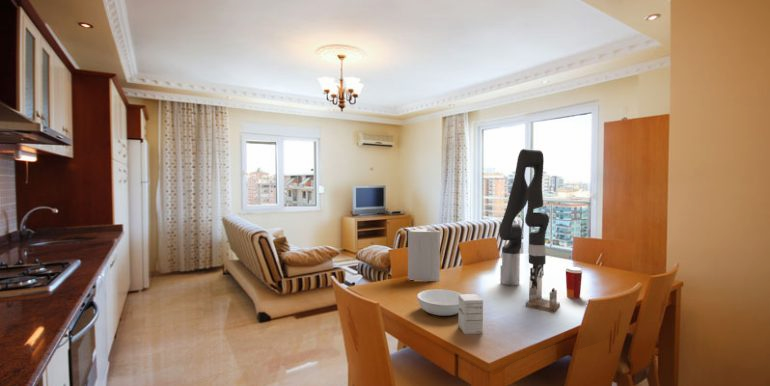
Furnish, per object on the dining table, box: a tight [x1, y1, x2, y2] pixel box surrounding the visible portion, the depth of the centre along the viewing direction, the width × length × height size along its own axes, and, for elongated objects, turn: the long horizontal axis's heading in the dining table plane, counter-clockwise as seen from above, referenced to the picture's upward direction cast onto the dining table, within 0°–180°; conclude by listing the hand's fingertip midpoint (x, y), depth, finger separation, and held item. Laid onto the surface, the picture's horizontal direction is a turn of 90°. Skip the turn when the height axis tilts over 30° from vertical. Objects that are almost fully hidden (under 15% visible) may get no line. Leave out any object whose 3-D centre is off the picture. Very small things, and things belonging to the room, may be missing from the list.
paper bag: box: [407, 227, 441, 282], centre depth 210 cm, size 19×15×28 cm
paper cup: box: [564, 266, 584, 300], centre depth 177 cm, size 8×8×14 cm
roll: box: [528, 276, 543, 299], centre depth 176 cm, size 6×6×10 cm
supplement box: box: [457, 293, 484, 335], centre depth 137 cm, size 7×7×13 cm
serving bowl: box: [417, 288, 463, 317], centre depth 156 cm, size 21×21×7 cm
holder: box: [525, 285, 561, 313], centre depth 164 cm, size 12×10×9 cm
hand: (537, 287), depth 175 cm, fingers open, 8 cm apart
